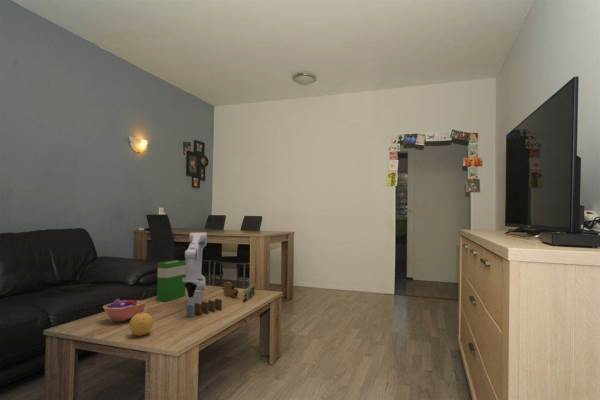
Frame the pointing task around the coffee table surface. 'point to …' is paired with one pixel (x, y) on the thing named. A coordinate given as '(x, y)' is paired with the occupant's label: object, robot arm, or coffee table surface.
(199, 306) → the domino
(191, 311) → the domino
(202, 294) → the robot arm
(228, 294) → the wooden carving
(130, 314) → the cell model
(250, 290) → the handheld radio
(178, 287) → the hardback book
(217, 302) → the domino
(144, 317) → the stress ball
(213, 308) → the domino
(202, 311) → the domino
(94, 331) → the coffee table surface
